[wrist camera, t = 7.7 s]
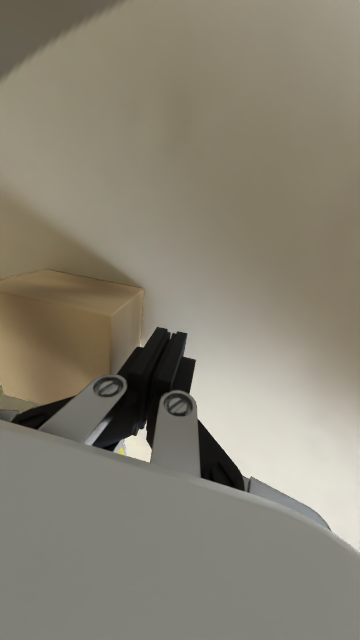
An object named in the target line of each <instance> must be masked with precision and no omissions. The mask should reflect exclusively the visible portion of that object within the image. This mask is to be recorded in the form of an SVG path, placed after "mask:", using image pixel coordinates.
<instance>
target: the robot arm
mask: <svg viewBox="0 0 360 640" xmlns="http://www.w3.org/2000/svg"><path fill="white" fill-rule="evenodd" d="M170 334H171V333H170V332H167V329H164V328H160V327H157V328H156V330H155V331H154V333H153V334H152V336H151V337H150V339H149V340H148V342H147V343H146V345H145V346H144V348H143V347H139V346H137V347H136V348H135V349H134V351H133V352H132V353H131V355H130V356H129V358H128V359H127V360H126V362H125V363H124V364H123V366H122V367H121V369H120V370H119V371H118V373H117V374H106V375H102V376H99V377H97V378H96V379H94V380H93V381H92V382H91V383H89V384H88V385H87V386H86V387H85V388H84V389H83V390H82V391H80V392H79V393H78V394H77V395H75V396H72V397H69V398H65V399H62V400H59V401H55V402H52V403H49V404H46V405H42V406H39V407H36V408H33V409H30V410H27V411H25V412H23V413H21V414H20V413H19V411H18V410H0V640H360V553H359V552H358V551H357V550H356V549H354V548H353V547H352V546H351V545H350V544H348V543H347V542H345V541H344V540H343V539H341V538H340V537H338V536H337V535H336V534H334V533H333V532H332V531H331V529H330V528H329V526H328V524H327V523H326V522H325V520H324V519H323V518H322V517H321V516H320V515H319V514H318V513H317V512H315V511H314V510H313V509H311V508H310V507H308V506H306V505H304V504H302V503H300V502H299V501H297V500H295V499H293V498H291V497H289V496H287V495H285V494H284V493H282V492H280V491H278V490H276V489H274V488H272V487H270V486H268V485H267V484H265V483H263V482H261V481H259V480H257V479H255V478H253V477H250V479H248V478H246V477H244V476H243V475H242V474H241V472H240V471H239V469H238V468H237V466H236V465H235V464H234V462H233V461H232V460H231V459H230V458H229V456H228V455H227V454H226V453H225V451H224V450H223V449H222V448H221V446H220V445H219V444H218V443H217V442H216V440H215V439H214V438H213V437H212V435H211V434H210V433H209V432H208V431H207V429H206V428H205V427H204V426H203V424H202V423H201V422H200V421H199V420H198V418H197V405H196V401H195V400H194V398H193V397H192V396H191V395H190V394H189V393H190V388H191V383H192V378H193V372H194V367H195V362H196V360H194V359H190V358H186V357H183V354H184V349H185V344H186V338H187V333H183V332H178V331H177V333H176V334H175V333H173V334H172V336H171V339H170ZM146 421H147V426H146V430H147V437H146V440H147V442H148V443H149V445H150V447H151V449H152V453H151V459H150V463H149V462H145V461H142V460H138V459H135V458H132V457H128V456H125V455H121V454H118V451H119V450H120V448H121V447H122V445H123V443H124V439H125V438H127V437H129V436H131V435H134V436H136V435H137V433H138V430H139V429H144V426H145V424H146Z"/></svg>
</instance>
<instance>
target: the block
mask: <svg viewBox="0 0 360 640" xmlns="http://www.w3.org/2000/svg"><path fill="white" fill-rule="evenodd" d="M143 296H144V289H143V288H138V287H132V286H127V285H122V284H117V283H112V282H107V281H102V280H97V279H92V278H87V277H82V276H77V275H72V274H67V273H62V272H57V271H52V270H47V269H45V270H41V271H36V272H32V273H28V274H23V275H19V276H15V277H10V278H6V279H2V280H0V384H1V387H2V391H3V394H4V395H7V396H11V397H15V398H19V399H22V400H26V401H30V402H34V403H38V404H42V405H46V404H49V403H52V402H55V401H59V400H62V399H65V398H69V397H72V396H75V395H77V394H78V393H79V392H80V391H82V390H83V389H84V388H85V387H86V386H87V385H88V384H89V383H91V382H92V381H93V380H94V379H96V378H97V377H99V376H102V375H106V374H117V373H118V371H119V370H120V369H121V367H122V366H123V364H124V363H125V362H126V360H127V359H128V358H129V356H130V355H131V353H132V352H133V351H134V349H135V348H136V347H137V346H140V334H141V321H142V309H143Z"/></svg>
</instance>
